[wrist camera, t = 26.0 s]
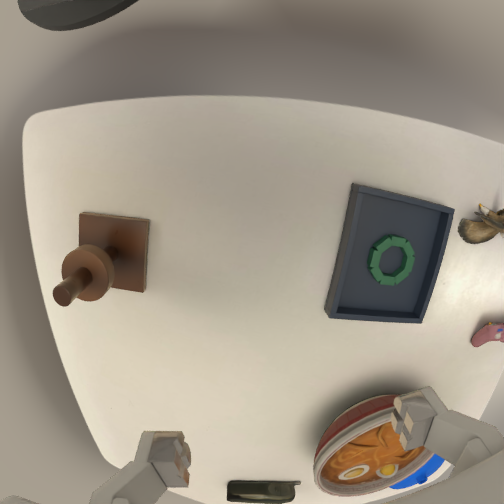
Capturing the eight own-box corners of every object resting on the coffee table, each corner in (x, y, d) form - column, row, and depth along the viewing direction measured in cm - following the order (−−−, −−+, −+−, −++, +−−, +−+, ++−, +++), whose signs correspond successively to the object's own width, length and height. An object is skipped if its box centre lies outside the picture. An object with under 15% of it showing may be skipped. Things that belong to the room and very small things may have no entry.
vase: (386, 451, 52) (397, 475, 46) (448, 428, 52) (462, 449, 46) (376, 486, 57) (384, 507, 50) (432, 466, 57) (442, 484, 50)
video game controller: (502, 318, 46) (527, 317, 39) (501, 341, 46) (526, 342, 39) (469, 321, 46) (496, 321, 39) (468, 347, 45) (494, 349, 38)
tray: (351, 183, 37) (359, 185, 34) (444, 205, 38) (455, 209, 36) (324, 309, 41) (328, 318, 39) (413, 315, 43) (421, 323, 40)
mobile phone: (226, 503, 48) (301, 504, 49) (227, 497, 47) (304, 497, 48) (227, 485, 53) (298, 486, 54) (227, 478, 52) (301, 479, 53)
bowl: (354, 468, 53) (366, 504, 44) (276, 435, 48) (283, 481, 39) (440, 400, 49) (464, 433, 39) (380, 349, 44) (408, 390, 34)
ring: (374, 231, 38) (378, 233, 37) (415, 238, 39) (419, 241, 37) (362, 279, 40) (365, 282, 39) (402, 283, 40) (406, 287, 39)
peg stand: (83, 212, 36) (19, 240, 23) (149, 219, 37) (105, 254, 23) (83, 278, 39) (29, 329, 25) (145, 289, 39) (108, 349, 26)
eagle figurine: (496, 179, 36) (464, 199, 35) (530, 209, 31) (502, 234, 30) (483, 215, 42) (451, 237, 41) (512, 244, 37) (483, 270, 36)
